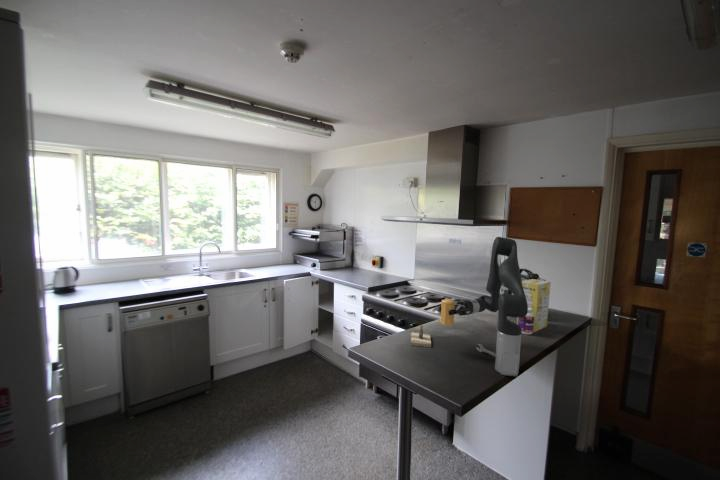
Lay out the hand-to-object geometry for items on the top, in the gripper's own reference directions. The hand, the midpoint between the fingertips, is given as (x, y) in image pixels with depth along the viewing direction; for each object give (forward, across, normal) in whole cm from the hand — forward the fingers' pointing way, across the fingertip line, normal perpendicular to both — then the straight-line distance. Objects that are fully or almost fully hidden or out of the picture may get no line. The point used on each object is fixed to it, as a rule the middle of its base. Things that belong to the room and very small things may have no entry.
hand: (444, 310), depth 152 cm
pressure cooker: (-96, -22, +20) cm, 101 cm away
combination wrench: (-17, +16, +20) cm, 31 cm away
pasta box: (-77, -2, +20) cm, 80 cm away
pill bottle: (-63, +2, +20) cm, 66 cm away
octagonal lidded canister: (-2, 0, +6) cm, 7 cm away
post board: (+2, -14, +20) cm, 24 cm away
